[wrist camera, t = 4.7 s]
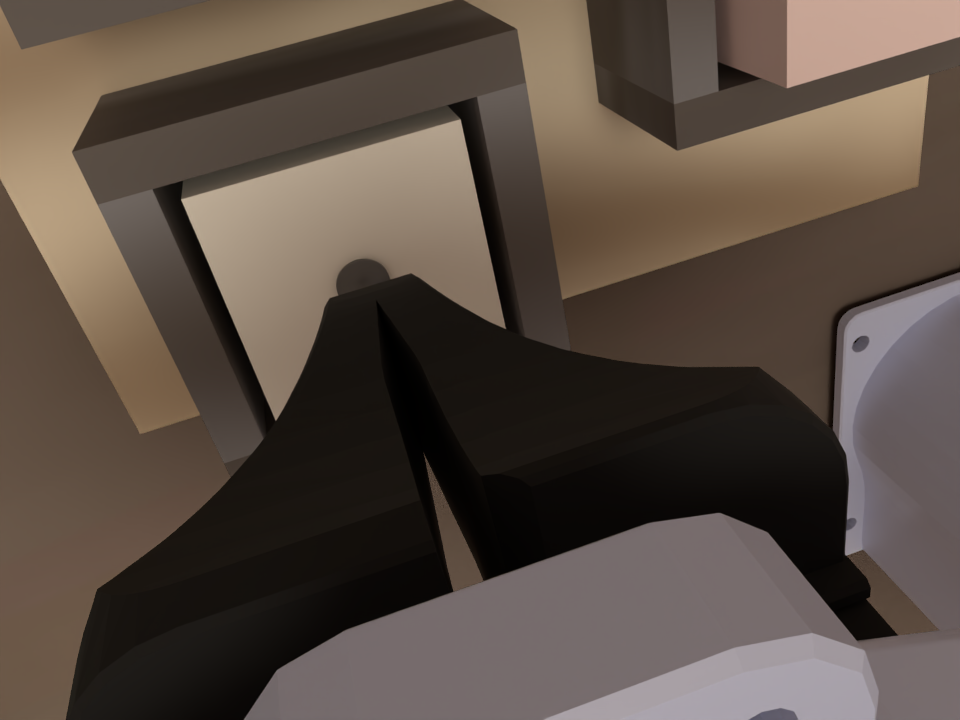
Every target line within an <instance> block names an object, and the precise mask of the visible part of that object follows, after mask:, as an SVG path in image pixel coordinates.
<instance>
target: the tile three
mask: <svg viewBox="0 0 960 720" xmlns="http://www.w3.org/2000/svg"><path fill="white" fill-rule="evenodd" d="M715 16H716V40H717V62H720V63H723V64H725V65H728V66H730V67H733V68H736V69H738V70H741V71H743V72H746V73H749V74H751V75H754V76H756V77H759V78H762V79H764V80H767V81H769V82H772V83H775V84H777V85H780V86H782V87H785V88H789V87H793V86H796V85H800V84H803V83H806V82H810V81H813V80H816V79H820V78H823V77H826V76H830V75H833V74H836V73H840V72H843V71H847V70H850V69H853V68H857V67H860V66H863V65H867V64H870V63H873V62H877V61H880V60H884V59H887V58H890V57H894V56H897V55H900V54H904V53H907V52H910V51H914V50H917V49H921V48H924V47H927V46H931V45H934V44H937V43H941V42H944V41H947V40H951V39H954V38H958V37H960V0H715Z"/></svg>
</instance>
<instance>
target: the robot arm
mask: <svg viewBox="0 0 960 720" xmlns="http://www.w3.org/2000/svg"><path fill="white" fill-rule="evenodd" d="M857 338H859V339H858V340H857V342H856V343H854V341H855V340H856V339H857ZM853 343H854V344H853ZM423 452H424V453H423ZM424 454H425V456H426V458H427V460H428V462H429V465H430V467H431V469H432V471H433V473H434V475H435V477H436V479H437V481H438V483H439V486H440V488H441V490H442V492H443V494H444V496H445V498H446V500H447V502H448V504H449V507H450V509H451V511H452V513H453V515H454V517H455V519H456V521H457V523H458V525H459V527H460V529H461V532H462V534H463V536H464V538H465V540H466V542H467V544H468V546H469V548H470V550H471V552H472V555H473V557H474V559H475V561H476V563H477V566H478V568H479V571H480V573H481V575H482V578H483V580H484V581H482V582H480V583H477V584H474V585H471V586H468V587H465V588H463V589H460V590H457V591H454V592H453V588H452V585H451V581H450V577H449V573H448V569H447V564H446V559H445V555H444V550H443V545H442V540H441V535H440V530H439V525H438V521H437V516H436V511H435V506H434V501H433V496H432V491H431V487H430V482H429V477H428V472H427V467H426V462H425V458H424ZM860 550H864V551H865V552H866V553H867V554H868V555H869V556H870V557H871V558H872V559H873V561H874V562H875V563H876V564H877V565H878V566H879V567H880V568H881V569H882V570H883V571H884V572H885V573H886V574H887V575H888V576H889V577H890V579H891V580H892V581H893V582H894V583H895V584H896V585H897V586H898V587H899V588H900V589H901V590H902V591H903V592H904V593H905V594H906V595H907V596H908V598H909V599H910V600H911V601H912V602H913V603H914V604H915V605H916V606H917V607H918V608H919V609H920V610H921V611H922V612H923V613H924V614H925V616H926V617H927V618H928V619H929V620H930V621H931V622H932V623H933V624H934V625H935V626H936V627H937V628H938V629H939V631H931V632H923V633H915V634H907V635H899V636H898V635H897V634H896V633H895V631H894V630H893V629H892V628H891V627H890V626H889V625H888V624H887V622H886V621H885V620H884V619H883V618H882V617H881V616H880V614H879V613H878V612H877V611H876V610H875V609H874V608H873V607H872V605H871V604H870V603H869V602H868V601H867V600H866V598H869V597H870V590H871V587H870V585H869V583H868V580H867V578H866V577H865V576H864V575H863V574H862V573H861V571H860V570H859V569H858V568H857V567H856V566H855V565H854V564H853V563H852V562H851V560H850V559H849V558H848V557H847V555H850V554H852V553H855V552H858V551H860ZM66 720H960V272H959V273H956V274H953V275H950V276H947V277H944V278H941V279H938V280H935V281H932V282H929V283H926V284H923V285H920V286H917V287H914V288H911V289H908V290H905V291H902V292H899V293H896V294H893V295H890V296H887V297H884V298H881V299H878V300H875V301H873V302H870V303H867V304H864V305H861V306H858V307H855V308H853V309H851V310H849V311H847V312H846V313H845V314H844V315H843V316H842V318H841V319H840V321H839V324H838V328H837V347H836V369H835V392H834V414H833V430H832V429H831V428H830V427H828V426H827V425H826V424H825V423H824V422H823V421H822V420H821V419H820V418H819V417H818V416H817V415H815V414H814V413H813V412H812V411H811V410H810V409H809V408H808V407H807V406H806V405H805V404H804V403H803V402H802V401H801V400H800V399H798V398H797V397H796V396H795V395H794V394H793V393H792V392H791V391H789V390H788V389H787V388H786V387H784V386H783V385H782V384H780V383H779V382H778V381H776V380H775V379H774V378H773V377H771V376H770V375H769V374H767V373H766V372H765V371H763V370H762V369H761V368H760V367H674V366H662V365H649V364H639V363H631V362H624V361H617V360H611V359H606V358H601V357H596V356H591V355H585V354H580V353H576V352H572V351H568V350H564V349H561V348H557V347H554V346H551V345H548V344H545V343H542V342H538V341H535V340H532V339H529V338H526V337H524V336H521V335H519V334H516V333H514V332H511V331H509V330H507V329H505V328H502V327H500V326H498V325H496V324H493V323H491V322H489V321H487V320H485V319H483V318H482V317H480V316H478V315H476V314H475V313H473V312H471V311H469V310H467V309H466V308H464V307H462V306H461V305H459V304H457V303H456V302H454V301H452V300H451V299H449V298H448V297H446V296H445V295H443V294H442V293H440V292H439V291H437V290H436V289H434V288H433V287H431V286H430V285H429V284H427V283H426V282H425V281H423V280H422V279H421V278H419V277H417V276H415V275H413V274H412V273H410V274H407V275H403V276H400V277H397V278H394V279H390V280H387V281H384V282H381V283H377V284H374V285H371V286H368V287H364V288H361V289H358V290H354V291H351V292H348V293H345V294H341V295H338V296H335V297H332V298H329V300H328V302H327V303H326V305H325V307H324V311H323V316H322V319H321V323H320V326H319V329H318V332H317V335H316V338H315V341H314V344H313V346H312V349H311V351H310V354H309V356H308V359H307V361H306V364H305V366H304V369H303V371H302V373H301V375H300V377H299V379H298V381H297V383H296V385H295V387H294V389H293V391H292V393H291V395H290V397H289V399H288V401H287V403H286V405H285V406H284V408H283V410H282V412H281V413H280V415H279V417H278V418H277V420H276V422H275V423H274V425H273V426H272V427H271V429H270V430H269V432H268V433H267V435H266V436H265V437H264V439H263V440H262V442H261V443H260V444H259V445H258V447H257V448H256V449H255V450H254V452H253V453H252V454H251V455H250V456H249V457H248V458H247V460H246V461H245V462H244V463H243V464H242V465H241V466H240V468H239V469H238V470H237V471H236V472H235V473H234V474H233V476H232V477H231V478H230V479H229V480H228V481H227V483H226V484H225V485H224V486H223V487H222V488H221V489H220V490H219V491H218V492H217V493H216V494H215V495H214V496H213V497H212V498H211V499H210V500H209V501H208V502H207V503H206V504H205V505H204V506H203V507H202V508H201V509H200V510H198V511H197V512H196V513H195V514H194V515H193V516H192V517H191V518H189V519H188V520H187V521H186V522H185V523H184V524H183V525H182V526H180V527H179V528H178V529H177V530H176V531H175V532H173V533H172V534H171V535H170V536H169V537H167V538H166V539H165V540H164V541H162V542H161V543H160V544H159V545H157V546H156V547H155V548H153V549H152V550H151V551H149V552H148V553H147V554H145V555H144V556H143V557H141V558H140V559H139V560H137V561H136V562H134V563H133V564H132V565H130V566H129V567H128V568H126V569H125V570H124V571H122V572H121V573H120V574H118V575H117V576H116V577H114V578H113V579H112V580H110V581H109V582H107V583H106V584H104V585H103V586H101V587H100V588H98V589H97V592H96V595H95V598H94V602H93V605H92V608H91V612H90V615H89V618H88V621H87V624H86V627H85V630H84V633H83V637H82V641H81V646H80V650H79V654H78V658H77V663H76V668H75V674H74V679H73V684H72V690H71V695H70V700H69V706H68V711H67V716H66Z"/></svg>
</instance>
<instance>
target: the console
mask: <svg viewBox="0 0 960 720" xmlns="http://www.w3.org/2000/svg"><path fill="white" fill-rule="evenodd" d="M957 66H960V37H958V38H954V39H951V40H947V41H944V42H941V43H937V44H934V45H931V46H927V47H924V48H921V49H917V50H914V51H910V52H907V53H904V54H900V55H897V56H894V57H890V58H887V59H884V60H880V61H877V62H873V63H870V64H867V65H863V66H860V67H857V68H853V69H850V70H847V71H843V72H840V73H836V74H833V75H830V76H826V77H823V78H820V79H816V80H813V81H810V82H806V83H803V84H800V85H796V86H793V87H789V88H785V87H782V86H780V85H777V84H775V83H772V82H769V81H767V80H764V79H762V78H759V77H756V76H754V75H751V74H749V73H746V72H743V71H741V70H738V69H736V68H733V67H730V66H728V65H725V64H723V63H720V62H717V40H716V16H715V0H0V179H1V181H2V183H3V185H4V187H5V188H6V190H7V192H8V194H9V196H10V198H11V199H12V201H13V203H14V205H15V207H16V208H17V210H18V212H19V214H20V216H21V218H22V219H23V221H24V223H25V225H26V227H27V229H28V230H29V232H30V234H31V236H32V238H33V239H34V241H35V243H36V245H37V247H38V249H39V250H40V252H41V254H42V256H43V258H44V259H45V261H46V263H47V265H48V267H49V269H50V270H51V272H52V274H53V276H54V278H55V280H56V281H57V283H58V285H59V287H60V289H61V290H62V292H63V294H64V296H65V298H66V300H67V301H68V303H69V305H70V307H71V309H72V310H73V312H74V314H75V316H76V318H77V320H78V321H79V323H80V325H81V327H82V329H83V331H84V332H85V334H86V336H87V338H88V340H89V341H90V343H91V345H92V347H93V349H94V351H95V352H96V354H97V356H98V358H99V360H100V361H101V363H102V365H103V367H104V369H105V371H106V372H107V374H108V376H109V378H110V380H111V382H112V383H113V385H114V387H115V389H116V391H117V392H118V394H119V396H120V398H121V400H122V402H123V403H124V405H125V407H126V409H127V411H128V413H129V414H130V416H131V418H132V420H133V422H134V423H135V425H136V427H137V429H138V431H139V433H140V434H142V433H146V432H149V431H152V430H155V429H158V428H161V427H164V426H168V425H171V424H174V423H177V422H180V421H183V420H186V419H189V418H193V417H196V416H199V415H201V417H202V419H203V421H204V424H205V426H206V428H207V430H208V432H209V434H210V436H211V438H212V440H213V442H214V444H215V446H216V448H217V450H218V452H219V454H220V456H221V458H222V460H223V462H224V464H225V466H226V468H227V470H228V473H229V475H230V477H232V476H233V474H234V473H235V472H236V471H237V470H238V469H239V468H240V466H241V465H242V464H243V463H244V462H245V461H246V460H247V458H248V457H249V456H250V455H251V454H252V453H253V452H254V450H255V449H256V448H257V447H258V445H259V444H260V443H261V442H262V440H263V439H264V437H265V436H266V435H267V433H268V432H269V430H270V429H271V427H272V426H273V425H274V423H275V422H276V420H275V418H274V416H273V413H272V411H271V409H270V406H269V404H268V402H267V399H266V397H265V395H264V392H263V390H262V388H261V385H260V383H259V381H258V378H257V376H256V374H255V371H254V369H253V366H252V364H251V362H250V359H249V357H248V355H247V352H246V350H245V348H244V345H243V343H242V341H241V338H240V336H239V334H238V331H237V329H236V327H235V324H234V322H233V320H232V317H231V315H230V313H229V310H228V308H227V306H226V303H225V301H224V299H223V296H222V294H221V292H220V289H219V287H218V285H217V282H216V280H215V278H214V275H213V273H212V271H211V268H210V266H209V264H208V261H207V259H206V257H205V254H204V252H203V250H202V247H201V245H200V243H199V240H198V238H197V236H196V233H195V231H194V229H193V226H192V224H191V222H190V219H189V217H188V215H187V212H186V210H185V208H184V205H183V203H182V201H181V196H182V187H183V180H186V179H190V178H193V177H197V176H200V175H204V174H207V173H211V172H215V171H218V170H222V169H225V168H229V167H232V166H236V165H239V164H243V163H246V162H250V161H253V160H257V159H260V158H264V157H267V156H271V155H274V154H278V153H281V152H285V151H288V150H292V149H295V148H299V147H302V146H306V145H309V144H313V143H316V142H320V141H323V140H327V139H330V138H334V137H337V136H341V135H344V134H348V133H351V132H355V131H358V130H362V129H365V128H369V127H372V126H376V125H379V124H383V123H386V122H390V121H393V120H397V119H400V118H404V117H407V116H411V115H415V114H418V113H422V112H425V111H429V110H432V109H436V108H439V107H443V106H446V105H447V106H448V107H449V108H450V109H451V110H452V111H453V112H454V113H455V114H456V115H457V116H458V117H459V118H460V119H461V124H462V128H463V133H464V138H465V142H466V147H467V151H468V156H469V161H470V165H471V170H472V175H473V179H474V184H475V189H476V193H477V198H478V202H479V207H480V212H481V216H482V221H483V226H484V230H485V235H486V239H487V244H488V249H489V253H490V258H491V263H492V267H493V272H494V276H495V281H496V286H497V290H498V295H499V300H500V304H501V309H502V313H503V318H504V323H505V327H506V329H507V330H509V331H511V332H514V333H516V334H519V335H521V336H524V337H526V338H529V339H532V340H535V341H538V342H542V343H545V344H548V345H551V346H554V347H557V348H561V349H564V350H568V351H571V347H570V341H569V335H568V329H567V323H566V318H565V312H564V306H563V299H566V298H569V297H572V296H575V295H578V294H581V293H585V292H588V291H591V290H594V289H597V288H600V287H603V286H606V285H610V284H613V283H616V282H619V281H622V280H625V279H628V278H632V277H635V276H638V275H641V274H644V273H647V272H650V271H654V270H657V269H660V268H663V267H666V266H669V265H672V264H675V263H679V262H682V261H685V260H688V259H691V258H694V257H697V256H701V255H704V254H707V253H710V252H713V251H716V250H719V249H722V248H726V247H729V246H732V245H735V244H738V243H741V242H744V241H748V240H751V239H754V238H757V237H760V236H763V235H766V234H770V233H773V232H776V231H779V230H782V229H785V228H788V227H791V226H795V225H798V224H801V223H804V222H807V221H810V220H813V219H817V218H820V217H823V216H826V215H829V214H832V213H835V212H838V211H842V210H845V209H848V208H851V207H854V206H857V205H860V204H864V203H867V202H870V201H873V200H876V199H879V198H882V197H886V196H889V195H892V194H895V193H898V192H901V191H904V190H907V189H911V188H914V187H917V186H918V181H919V171H920V161H921V150H922V140H923V130H924V120H925V109H926V99H927V89H928V78H929V75H931V74H934V73H937V72H941V71H944V70H947V69H951V68H954V67H957Z"/></svg>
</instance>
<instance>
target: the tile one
mask: <svg viewBox="0 0 960 720" xmlns="http://www.w3.org/2000/svg"><path fill="white" fill-rule="evenodd" d="M181 201H182V203H183V205H184V208H185V210H186V212H187V215H188V217H189V219H190V222H191V224H192V226H193V229H194V231H195V233H196V236H197V238H198V240H199V243H200V245H201V247H202V250H203V252H204V254H205V257H206V259H207V261H208V264H209V266H210V268H211V271H212V273H213V275H214V278H215V280H216V282H217V285H218V287H219V289H220V292H221V294H222V296H223V299H224V301H225V303H226V306H227V308H228V310H229V313H230V315H231V317H232V320H233V322H234V324H235V327H236V329H237V331H238V334H239V336H240V338H241V341H242V343H243V345H244V348H245V350H246V352H247V355H248V357H249V359H250V362H251V364H252V366H253V369H254V371H255V374H256V376H257V378H258V381H259V383H260V385H261V388H262V390H263V392H264V395H265V397H266V399H267V402H268V404H269V406H270V409H271V411H272V413H273V416H274V418H275V420H277V418H278V417H279V415H280V413H281V412H282V410H283V408H284V406H285V405H286V403H287V401H288V399H289V397H290V395H291V393H292V391H293V389H294V387H295V385H296V383H297V381H298V379H299V377H300V375H301V373H302V371H303V369H304V366H305V364H306V361H307V359H308V356H309V354H310V351H311V349H312V346H313V344H314V341H315V338H316V335H317V332H318V329H319V326H320V323H321V319H322V316H323V311H324V307H325V305H326V303H327V302H328V300H329V298H332V297H335V296H338V295H341V294H345V293H348V292H351V291H354V290H358V289H361V288H364V287H368V286H371V285H374V284H377V283H381V282H384V281H387V280H390V279H394V278H397V277H400V276H403V275H407V274H410V273H412V274H413V275H415V276H417V277H419V278H421V279H422V280H423V281H425V282H426V283H427V284H429V285H430V286H431V287H433V288H434V289H436V290H437V291H439V292H440V293H442V294H443V295H445V296H446V297H448V298H449V299H451V300H452V301H454V302H456V303H457V304H459V305H461V306H462V307H464V308H466V309H467V310H469V311H471V312H473V313H475V314H476V315H478V316H480V317H482V318H483V319H485V320H487V321H489V322H491V323H493V324H496V325H498V326H500V327H502V328H505V329H506V327H505V323H504V318H503V313H502V309H501V304H500V300H499V295H498V290H497V286H496V281H495V276H494V272H493V267H492V263H491V258H490V253H489V249H488V244H487V239H486V235H485V230H484V226H483V221H482V216H481V212H480V207H479V202H478V198H477V193H476V189H475V184H474V179H473V175H472V170H471V165H470V161H469V156H468V151H467V147H466V142H465V138H464V133H463V128H462V124H461V119H460V118H459V117H458V116H457V115H456V114H455V113H454V112H453V111H452V110H451V109H450V108H449V107H448V106H447V105H446V106H443V107H439V108H436V109H432V110H429V111H425V112H422V113H418V114H415V115H411V116H407V117H404V118H400V119H397V120H393V121H390V122H386V123H383V124H379V125H376V126H372V127H369V128H365V129H362V130H358V131H355V132H351V133H348V134H344V135H341V136H337V137H334V138H330V139H327V140H323V141H320V142H316V143H313V144H309V145H306V146H302V147H299V148H295V149H292V150H288V151H285V152H281V153H278V154H274V155H271V156H267V157H264V158H260V159H257V160H253V161H250V162H246V163H243V164H239V165H236V166H232V167H229V168H225V169H222V170H218V171H215V172H211V173H207V174H204V175H200V176H197V177H193V178H190V179H186V180H183V187H182V196H181Z"/></svg>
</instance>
